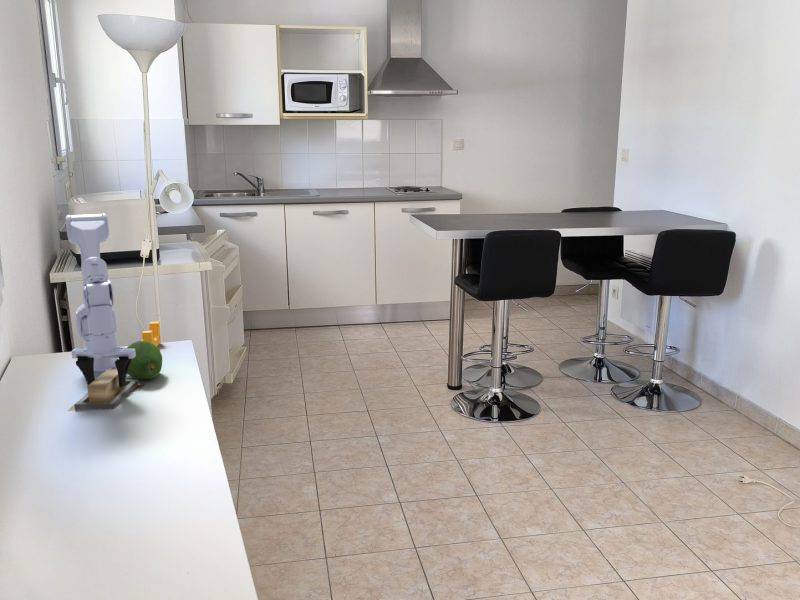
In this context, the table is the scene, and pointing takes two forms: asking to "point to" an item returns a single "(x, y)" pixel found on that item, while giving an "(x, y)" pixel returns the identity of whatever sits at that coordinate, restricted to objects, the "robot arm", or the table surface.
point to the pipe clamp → (152, 334)
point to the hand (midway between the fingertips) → (107, 385)
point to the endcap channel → (130, 387)
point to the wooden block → (104, 387)
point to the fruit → (145, 360)
